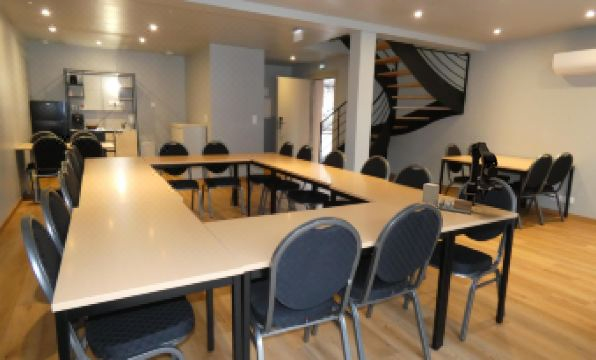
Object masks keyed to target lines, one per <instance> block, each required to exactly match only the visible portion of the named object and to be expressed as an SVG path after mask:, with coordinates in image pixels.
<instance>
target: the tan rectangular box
mask: <svg viewBox="0 0 596 360" xmlns="http://www.w3.org/2000/svg"><path fill="white" fill-rule="evenodd" d="M453 205H454V209H461V210H467V211H471V212H472V207H473V205H472V201H465V200H463V199H457V198H455V199H454V201H453Z"/></svg>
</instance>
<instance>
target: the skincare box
mask: <svg viewBox="0 0 596 360" xmlns="http://www.w3.org/2000/svg"><path fill="white" fill-rule="evenodd" d="M439 192H440V184H437V183H430V182H427V183H423V188H422V200H421V201H422V202H425V203H431V204H433V205H435V206H436V207H438V208H439V197H440V193H439Z"/></svg>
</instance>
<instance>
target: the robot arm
mask: <svg viewBox="0 0 596 360" xmlns="http://www.w3.org/2000/svg"><path fill="white" fill-rule="evenodd" d="M468 151H469V156H470V157H471V164H470V165H471V166H470V173H469V180H468V181H467V182H466V185H465V186H464V189H463V191H462V192H463V193H462V194H463V195H464V196H465V201H472V206H475V204H476V202H475V201H476V200H475V199H476V197H479V195H480V198H481V201H484V199H485V198H486V196H487V194H488V193H489V192H492V190H495V191H496V192H502V191H503V185H502V184H494V181H493V180H492V178H493V179H495V178H496V177H497V176H498V174H499V171H498V169H497V167H498V164H499V163H498V158H497V155H496V154H495V153H493V152H492V151H490V150H489V148H488V145H487V143H486V142H485V141H483V142H482V141H478V142H476V143H474V144H471V145H470V146H469V150H468ZM480 162H481V170H480V171H481V173H480V179H479V178H478V176H479V169H480V168H479V167H480ZM478 179H479V182H478Z"/></svg>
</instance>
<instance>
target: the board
mask: <svg viewBox="0 0 596 360" xmlns="http://www.w3.org/2000/svg"><path fill="white" fill-rule="evenodd" d="M445 200H446V199H445V198H444V197H443V198H441V200H440V201H439V202H438V209H440V210H439V211H442V212H443V211H445V212H451V213H455V214H462V215H463V214H464V215H469V216H471V212H472V210H471V211H467V210H461V209H454V204H452V203H453V199H447V202H445Z"/></svg>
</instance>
